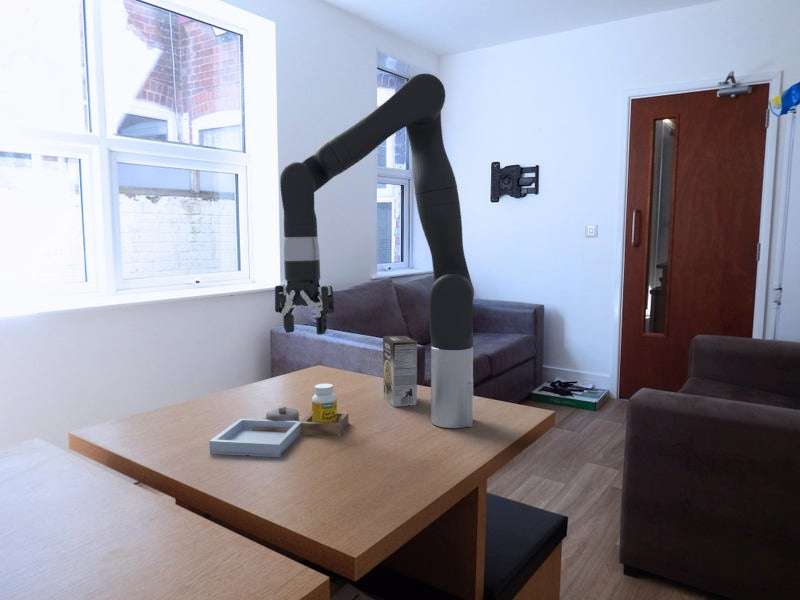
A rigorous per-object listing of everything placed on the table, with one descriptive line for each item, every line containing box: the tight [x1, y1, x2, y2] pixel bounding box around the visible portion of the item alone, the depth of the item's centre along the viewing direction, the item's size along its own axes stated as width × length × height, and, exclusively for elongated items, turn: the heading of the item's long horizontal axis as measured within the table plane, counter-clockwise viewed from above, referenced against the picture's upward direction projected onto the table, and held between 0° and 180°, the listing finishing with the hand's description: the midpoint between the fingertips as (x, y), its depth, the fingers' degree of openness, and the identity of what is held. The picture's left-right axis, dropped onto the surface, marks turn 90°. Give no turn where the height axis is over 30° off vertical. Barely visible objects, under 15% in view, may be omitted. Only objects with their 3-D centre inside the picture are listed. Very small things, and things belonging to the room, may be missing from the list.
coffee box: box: [382, 335, 418, 408], centre depth 145 cm, size 9×6×16 cm
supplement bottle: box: [311, 383, 338, 423], centre depth 124 cm, size 5×5×10 cm
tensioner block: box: [252, 405, 350, 437], centre depth 125 cm, size 19×10×4 cm, turn 82°
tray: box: [209, 418, 302, 458], centre depth 116 cm, size 14×14×2 cm
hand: (305, 333), depth 125 cm, fingers open, 8 cm apart
